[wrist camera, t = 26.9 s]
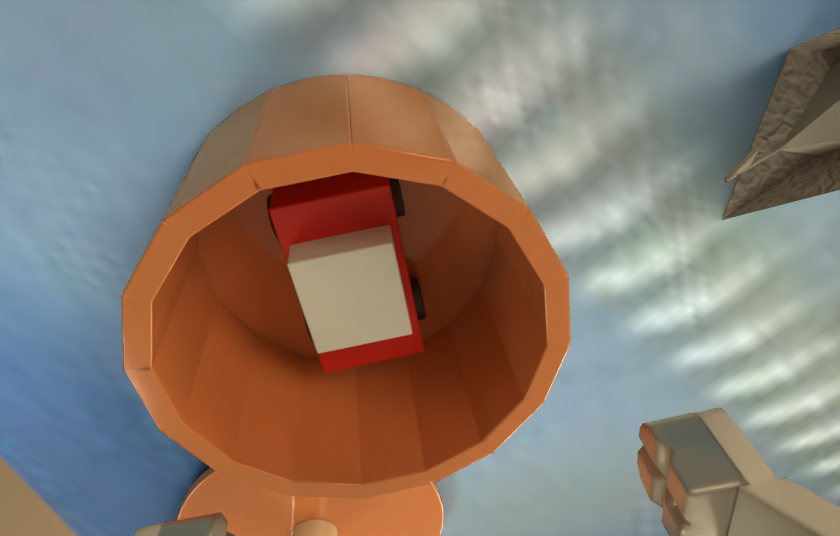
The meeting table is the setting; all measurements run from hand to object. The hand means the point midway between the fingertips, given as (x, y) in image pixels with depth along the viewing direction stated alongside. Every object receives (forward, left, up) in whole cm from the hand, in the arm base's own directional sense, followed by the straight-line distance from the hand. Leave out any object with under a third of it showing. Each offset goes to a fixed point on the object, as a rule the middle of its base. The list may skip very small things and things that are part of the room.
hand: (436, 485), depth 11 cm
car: (+2, -2, -14) cm, 14 cm away
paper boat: (-1, +16, -15) cm, 22 cm away
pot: (+2, -2, -14) cm, 15 cm away
